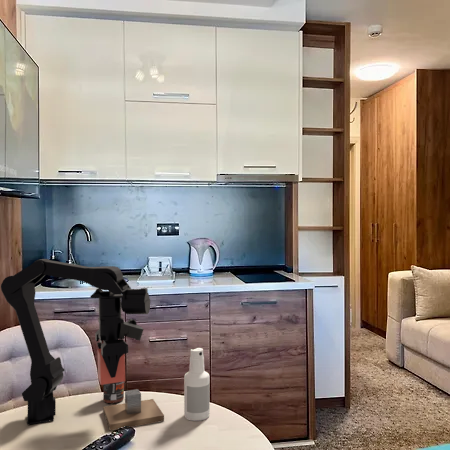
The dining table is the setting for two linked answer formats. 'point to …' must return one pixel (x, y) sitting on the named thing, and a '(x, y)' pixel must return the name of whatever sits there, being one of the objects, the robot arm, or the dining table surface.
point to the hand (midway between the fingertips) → (111, 373)
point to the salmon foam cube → (104, 373)
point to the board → (132, 415)
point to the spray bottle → (196, 388)
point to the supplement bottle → (113, 392)
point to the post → (133, 401)
